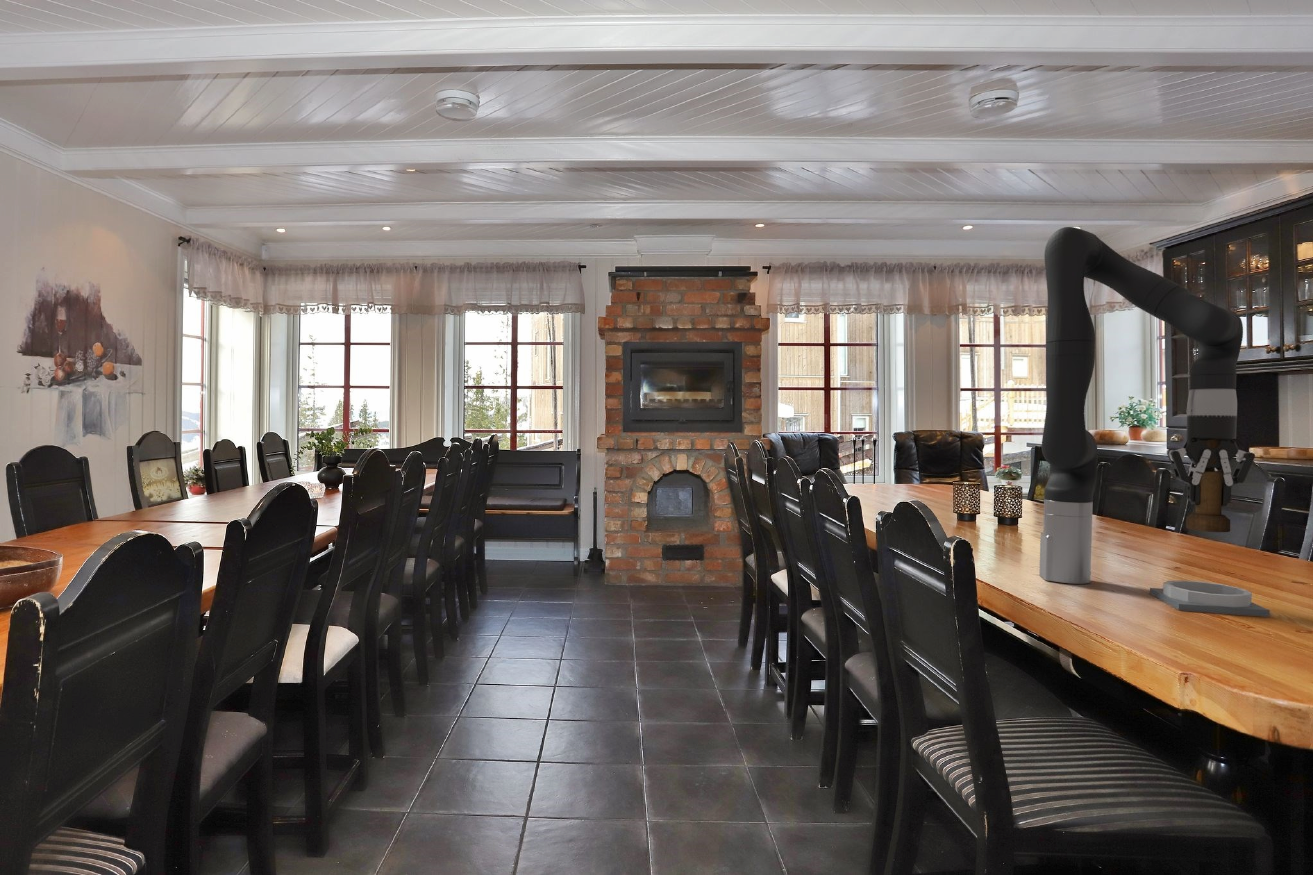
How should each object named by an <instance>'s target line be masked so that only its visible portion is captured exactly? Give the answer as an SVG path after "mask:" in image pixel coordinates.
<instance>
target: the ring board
mask: <svg viewBox="0 0 1313 875" xmlns="http://www.w3.org/2000/svg"><path fill="white" fill-rule="evenodd" d="M1162 585H1163V588H1160V587H1158V588H1157V587H1149V594H1150V595H1151V596H1153V597H1154V598H1156V599H1157V600H1160V601H1162V603H1165V604H1167V605H1168V606H1170V607H1171V608H1174V609H1176V610H1177V611H1182V612H1183V611H1184V612H1196V613H1209V614H1210V613H1211V614H1221V615H1222V614H1223V615H1237V616H1238V615H1239V616H1249V617H1250V616H1251V617H1252V616H1253V617H1265V618H1270V616H1271V615H1270V613H1271V610H1270V609H1268V608H1265V607H1263V606H1261V605H1258V604H1257V603H1254V602H1252V598H1253V597H1252V596H1253V595H1252V594H1253V593H1252V591H1249V590H1247V589H1244V588H1241V587H1236V586H1232V585H1227V584H1221V583H1214V582H1208V581H1200V580H1199V581H1197V580H1183V579H1181V580H1178V579H1177V580H1167V581H1165V582H1163V584H1162Z"/></svg>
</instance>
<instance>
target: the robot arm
mask: <svg viewBox="0 0 1313 875" xmlns="http://www.w3.org/2000/svg"><path fill="white" fill-rule="evenodd" d="M1044 268H1045V278H1046V290H1047V306H1046V308H1047V310H1046V342H1045V387H1046V388H1045V389H1046V391H1045V392H1046V410H1045V417H1044V426H1043V431H1042V439H1041V452H1042V455H1043V457H1044V460H1045V461H1046V462H1047V464H1049V474H1048V478H1047V483H1046V484H1045V486H1044V491H1043V492H1044V494H1043V527H1042V528H1043V529H1042V530H1043V531H1042V532H1041V533H1040V536H1039V538H1040V540H1039V541H1040V543H1039V544H1040V545H1039V548H1040V549H1039V570H1038V571H1039V576H1040V577H1041V578H1042V579H1043V580H1045V581H1048V582H1049V581H1050V582H1055V583H1056V582H1057V583H1063V584H1064V583H1065V584H1076V585H1078V584H1079V585H1084V584H1089V583H1091V576H1092V575H1091V574H1092V541H1093V539H1092V537H1093V534H1092V533H1093V507H1094V506H1093V505H1094V504H1093V501H1094V492H1095V489H1096V484H1097V473H1098V472H1097V468H1098V444H1097V441H1096V439H1095V436H1094V435H1093V434H1092V433H1091V432H1090V431H1088V430H1087V429H1086V415H1085V414H1086V412H1085V411H1086V399H1087V395H1088V391H1089V388H1090V384H1091V381H1092V377H1093V374H1094V368H1095V360H1096V332H1095V327H1094V323H1093V322H1094V321H1093V318H1092V316H1091V313H1090V310H1089V307H1088V303H1087V301H1086V300H1087V299H1086V296H1085V278H1086V279H1089V280H1093V281H1094V282H1095V281H1096V282H1098V283H1100V284H1101V285H1105V286H1106V287H1108V288H1110V289H1112V290H1113V291H1115V292H1116V293H1117V294H1118V295H1120V296H1121V297H1123V298H1124V299H1125V300H1126V301H1128V302H1129V303H1131V304H1132V305H1133V306H1135V307H1137V308H1138V309H1140V310H1142V311H1143V312H1145V313H1147V314H1148V315H1151V316H1152V317H1154V318H1156V319H1158V320H1160V321H1162V322H1164V323H1167V324H1168V325H1169V326H1171V327H1172V328H1174V329H1175V330H1176V331H1178V332H1179V333H1181V334H1182V335H1184V336H1186V337H1187V338H1189V339H1190V340H1193V341H1194V342H1197V343H1198V351H1197V357H1196V360H1194V361H1193V362H1192V364H1191V366H1190V371H1189V393H1188V397H1187V407H1186V411H1185V412H1186V435H1185V436H1186V441H1185V444H1184V445H1183V447H1182V448H1179V449H1175V450H1174V449H1173V450H1168V451H1167V453H1166V454H1167V458H1168V460H1169V462H1170V465H1171V468H1172V471H1173V473H1174V478H1175V479H1176V481H1180V482H1183V483H1185V484H1186V485H1187V486H1186V487H1187V488H1186V494H1187V495H1186V499H1187V501H1188V502H1189V503H1190V505H1193V506H1196V505H1199V502H1200V486H1199V485H1198V484H1199V482H1200V479H1201V476H1202V474H1203V473H1204V471H1205V468H1209V467H1215V469H1214V471H1218V472H1222V473H1223V476H1222V507H1227V506H1228V504H1230V503H1231V501H1232V487H1233V486H1234V485H1237V484H1243V483H1244V482H1245V480H1246V478H1247V476H1248V473H1249V472H1250V469H1251V468H1252V466H1253V465H1252V464H1253V462H1254V460H1255V458H1256V454H1255V453H1254V452H1247V451H1244V450H1241V449H1239V447H1238V445H1237V443H1236V440H1237V426H1238V425H1237V422H1238V421H1237V419H1238V397H1237V363H1238V360H1239V356H1240V352H1241V349H1242V348H1241V347H1242V343H1243V338H1244V325H1243V324H1244V323H1243V321H1242V318H1241V317H1240V315H1239V314H1237V312H1235V311H1233V310H1231V309H1229V308H1224V307H1221V306H1219V305H1216V304H1214V303H1212V302H1209V301H1207V300H1205V299H1203V298H1201V297H1199V296H1197V295H1195V294H1194V293H1193V292H1192V291H1191V290H1189V289H1188V288H1186V287H1183V286H1182V285H1180V284H1179V283H1176V282H1174V281H1172V280H1171V279H1169V278H1166V277H1165V276H1162V275H1161V274H1158V273H1156V272H1153V271H1151V270H1149V269H1147V268H1146V267H1142V266H1140V265H1138V264H1137V263H1134V262H1132V261H1131V260H1129V259H1127V258H1126V257H1124V256H1122V255H1121V254H1120V253H1118V252H1117V251H1115V250H1114V249H1113V248H1111V247H1110V246H1109V245H1108V244H1107V243H1105V242H1104V241H1103V240H1101V238H1099V237H1098V236H1097V235H1096V234H1094V233H1092V232H1090V231H1087V230H1084V229H1081V228H1078V227H1074V226H1064V227H1061V228H1058V229H1057V230H1056V231H1054V232H1053V233H1052V235H1050V237H1049V238H1048V240H1047V241H1046V245H1045V248H1044ZM1212 439H1215V440H1219V441H1220V445H1219V446H1218V447H1217V448H1216V449H1211V448H1209V447H1208V445H1207V443H1206V442H1207V441H1208V440H1212ZM1185 455H1186V456H1187V457H1188V459H1189V460H1190V461H1191V463H1190V464H1189V468H1188V471H1189V472H1187V470H1186V468H1185V465H1184V460H1185ZM1235 456H1236V457H1235ZM1234 457H1235V458H1236V459H1235V460H1236V462H1237V463H1236V465H1235V467H1234V469H1233V472H1232V470H1231V464H1230V462H1231V461H1232V460H1233V459H1234ZM1210 458H1215V459H1216V461H1215V463H1214V464H1211V463H1210V461H1209V459H1210Z"/></svg>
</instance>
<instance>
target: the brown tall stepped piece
mask: <svg viewBox="0 0 1313 875" xmlns="http://www.w3.org/2000/svg"><path fill="white" fill-rule="evenodd" d="M1206 443H1207V445H1208V447H1209V448H1211V449H1216V448H1217V447H1218V446H1219V445H1220V441H1219V440H1215V439H1212V440H1208V441H1207V442H1206ZM1209 461H1210V463H1211V464H1214V463H1215V461H1216V459H1215V458H1210V459H1209ZM1222 476H1223V473H1222V472H1218V471H1215V467H1209V468H1205V470H1204V473H1203V474H1202V476H1201V479H1200V482H1199V484H1198V485H1199V486H1200V502H1199V505H1195V512H1191V513H1190V514H1188V515H1186V524H1185V528H1186V529H1188V530H1191V531H1200V532H1207V533H1208V532H1210V533H1229V532H1230V531H1231V519H1229V517H1227V516H1226V515H1225V514H1222V507H1223V506H1222Z"/></svg>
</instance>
